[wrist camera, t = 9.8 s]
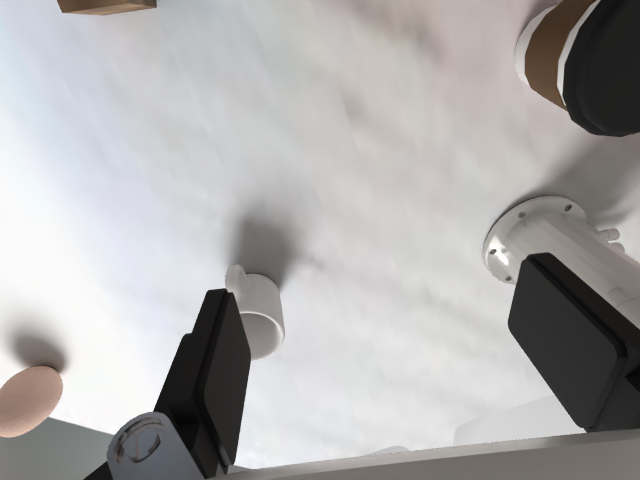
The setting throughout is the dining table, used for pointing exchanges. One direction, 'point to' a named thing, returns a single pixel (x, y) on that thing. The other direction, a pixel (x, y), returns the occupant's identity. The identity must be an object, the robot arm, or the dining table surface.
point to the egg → (28, 399)
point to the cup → (257, 310)
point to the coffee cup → (586, 62)
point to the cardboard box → (104, 6)
